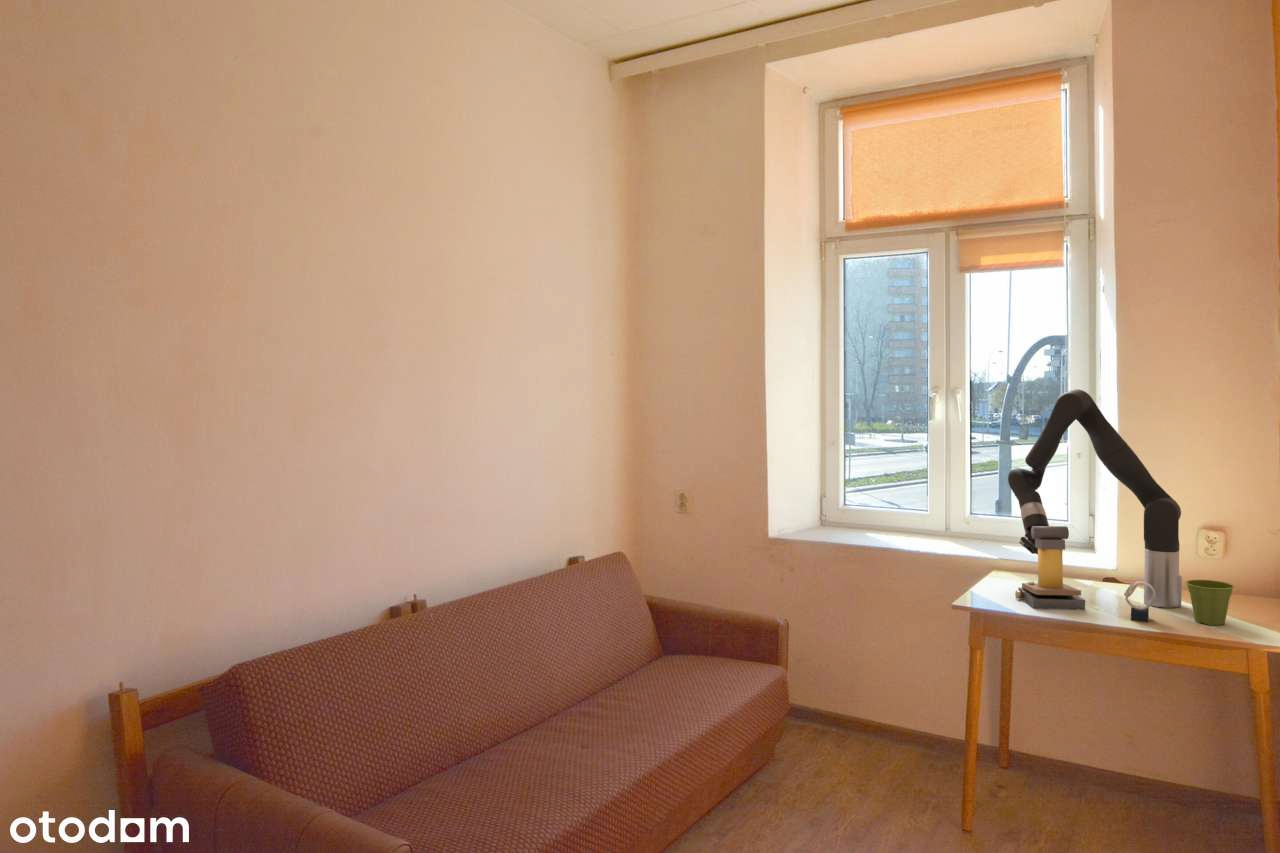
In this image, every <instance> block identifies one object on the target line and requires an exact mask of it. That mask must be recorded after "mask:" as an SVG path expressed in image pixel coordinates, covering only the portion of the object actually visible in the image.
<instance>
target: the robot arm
mask: <svg viewBox="0 0 1280 853" xmlns="http://www.w3.org/2000/svg"><path fill="white" fill-rule="evenodd" d="M1075 421H1077V422H1078V423H1079V424H1080V425H1081V427H1082V428H1083V429H1084V430H1085V431H1086V433H1087V434H1088V436H1089V439H1090V441H1091V444H1092V447H1093V448H1094V449H1093V450H1094V452H1095V454H1096V456H1097V457H1098V459H1099V460H1100V462H1101V463H1102V464H1103V466H1104V467H1105V468H1106V469H1107V470H1108V472H1110V473H1111V475H1112V476H1114V477H1115V478H1116V479H1117V480H1118V481H1119V482H1120V483H1121V484H1122V485H1124V486H1125V487H1127V489H1128V490H1130V492H1131V493H1132V494H1134V495H1135V497H1136V498H1137V500H1138V501H1139V502H1140V504H1141V505H1142V507H1143V508H1144V510H1143V540H1144V565H1143V566H1144V568H1143V569H1144V570H1143V571H1144V573H1143V574H1144V576H1143V582H1146V583H1148V584H1150V585H1151V586H1152V587H1153V588H1154V590H1155V596H1156V597H1155V600H1154V602H1153V604H1152V605H1151V606H1150V607H1157V608H1165V609H1166V608H1179V607H1182V597H1183V596H1182V595H1183V594H1182V590H1183V588H1182V587H1183V586H1182V585H1183V577H1182V575H1180V539H1179V538H1180V537H1179V528H1180V527H1179V520H1180V519H1181V517H1182V516H1181V515H1182V511H1181V507H1180V505H1179V503H1178V502H1177V501H1176V500H1175V499H1174V498H1173V497H1171V495H1169V493H1167V491H1165V490H1164V489H1163V488H1162V486H1161V485H1160V484H1159V483H1157V481H1156V480H1155V479H1154V477H1153V476H1152V475H1151V473H1150V471H1149V470H1148V469H1147V468H1146V465H1145V464H1144V463H1143V462H1142V461H1141V459H1140V458H1139V457H1138V455H1137V454H1136V452H1134V450H1133V449H1132V447H1131V446H1129V444H1128V443H1127V441H1125V439H1123V437H1121V435H1120V433H1119V432H1117V430H1116V429H1115V428H1114V427H1113V426H1112V424H1111V423H1110V422H1109V420H1107V418H1106V417H1105V416H1104V414H1103V413H1102V411H1101V410H1100V409H1099V407H1098V405H1097V404H1096V402H1095V400H1094V399H1093V398H1092V397H1091V395H1090V394H1089V393H1088V392H1086V391H1084V390H1082V389H1073V390H1072V389H1071V390H1069V391H1066V392H1064V393H1062V394H1060V395H1059V396H1058V398H1057V399H1056V400H1055V403H1054V406H1053V407H1052V410H1051V413H1050V416H1049V418H1048V420H1047V422H1046V424H1045V426H1044V427H1043V430H1042V431H1041V433H1040V434H1039V437H1038V438H1037V440H1036V441H1035V443H1034V444H1033V446H1032V447H1031V449H1030V450H1029V452H1028V454H1027V455H1026V457H1025V460H1024V462H1025V464H1026V465H1027V466H1028V467H1030V468H1032V469H1031V470H1029V469H1025V468H1021V467H1014V468H1012V469H1011V470H1009V473H1008V476H1007V483H1008V485H1009V488H1010V490H1011V491H1012V493H1013V495H1014V496H1015V498H1016V500H1017V501H1018V505H1019V509H1020V516H1021V521H1022V525H1023V528H1024V532H1025V533H1024V536H1021V537H1020V540H1019V544H1020V545H1021V546H1022V547H1024V548H1025V549H1026V550H1027V551H1028V552H1030V553H1031V554H1032V555H1035V554H1036V555H1037V556H1038V548H1036V547H1035V539H1033V538H1032V536H1031V528H1032V526H1050V524H1049V521H1048V518H1047V513H1046V511H1045V510H1046V509H1045V508H1044V505H1043V501H1042V498H1041V495H1040V493H1039V492H1038V491H1037V490H1038V489H1039V488H1040V487H1041V486H1042V483H1043V479H1044V476H1045V472H1046V468H1047V466H1048V465H1049V463H1050V461H1051V460H1052V459H1053V457H1054V455H1056V452H1057V450H1058V448H1059V446H1060V442H1061V440H1062V438H1063V436H1064V434H1065V432H1066V431H1067V430H1068V429H1069V427H1070V426H1071V425H1072V424H1073V423H1074V422H1075ZM1153 593H1154V592H1153V591H1152V589H1151V588H1150V587H1148V586H1147V585H1144V584H1143V603H1144V604H1145V605H1147V604H1148V603H1149V602H1150V600H1151V598H1152V596H1153Z"/></svg>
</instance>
